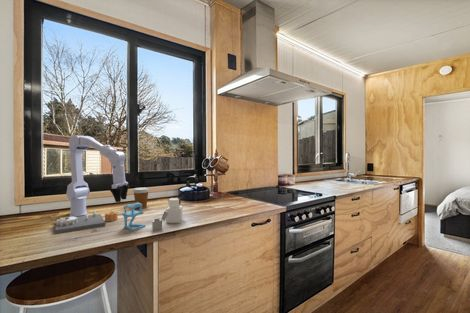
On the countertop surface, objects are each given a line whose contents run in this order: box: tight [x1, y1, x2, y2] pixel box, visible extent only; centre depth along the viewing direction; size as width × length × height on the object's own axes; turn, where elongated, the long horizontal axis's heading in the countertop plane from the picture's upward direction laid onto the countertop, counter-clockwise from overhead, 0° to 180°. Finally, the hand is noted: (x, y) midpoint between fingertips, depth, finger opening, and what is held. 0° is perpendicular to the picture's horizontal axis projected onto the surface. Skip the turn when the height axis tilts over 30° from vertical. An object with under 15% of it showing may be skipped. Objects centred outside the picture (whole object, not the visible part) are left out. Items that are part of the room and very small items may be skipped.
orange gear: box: [104, 211, 118, 222], centre depth 123 cm, size 6×6×4 cm
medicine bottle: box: [165, 196, 183, 224], centre depth 122 cm, size 7×7×12 cm
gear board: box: [55, 210, 106, 234], centre depth 115 cm, size 18×19×4 cm
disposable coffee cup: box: [132, 186, 150, 210], centre depth 149 cm, size 10×10×12 cm
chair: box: [122, 202, 146, 232], centre depth 111 cm, size 8×8×12 cm
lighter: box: [151, 210, 168, 232], centre depth 110 cm, size 7×2×8 cm, turn 125°
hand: (121, 200), depth 123 cm, fingers open, 7 cm apart
